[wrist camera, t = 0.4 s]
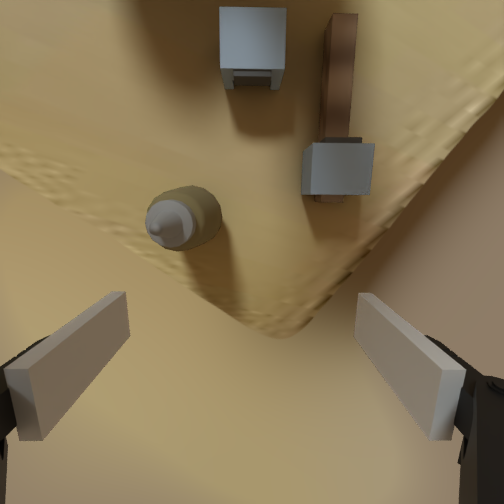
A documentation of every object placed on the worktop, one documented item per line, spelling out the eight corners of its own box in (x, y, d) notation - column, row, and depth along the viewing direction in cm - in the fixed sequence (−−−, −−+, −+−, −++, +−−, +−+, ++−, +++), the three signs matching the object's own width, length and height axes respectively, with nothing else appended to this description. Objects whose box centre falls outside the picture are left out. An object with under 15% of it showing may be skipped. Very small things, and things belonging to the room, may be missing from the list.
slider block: (351, 195, 38) (369, 194, 33) (301, 194, 38) (310, 194, 32) (355, 146, 37) (375, 137, 31) (303, 145, 37) (313, 136, 31)
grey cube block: (224, 38, 35) (219, 6, 29) (280, 39, 35) (286, 7, 29) (225, 94, 36) (220, 75, 30) (278, 95, 36) (284, 75, 30)
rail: (324, 31, 34) (332, 13, 31) (347, 31, 34) (358, 13, 31) (314, 201, 39) (321, 202, 36) (334, 201, 39) (342, 202, 36)
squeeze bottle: (211, 249, 40) (183, 290, 23) (162, 227, 40) (93, 252, 22) (233, 200, 39) (220, 205, 21) (182, 176, 38) (125, 160, 21)
